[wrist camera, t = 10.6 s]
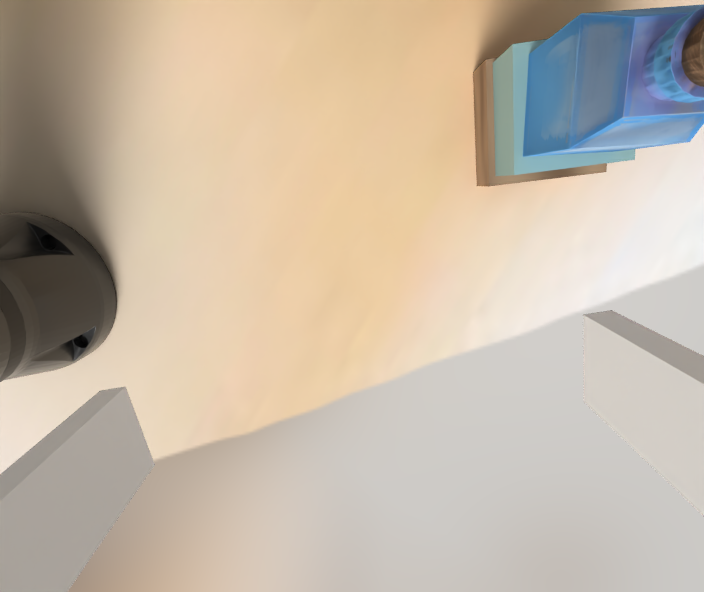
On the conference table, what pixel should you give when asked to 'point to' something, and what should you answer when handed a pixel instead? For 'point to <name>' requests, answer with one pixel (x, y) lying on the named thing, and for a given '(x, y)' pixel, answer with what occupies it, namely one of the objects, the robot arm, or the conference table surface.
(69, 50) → the conference table surface
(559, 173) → the walnut slab
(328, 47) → the conference table surface
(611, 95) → the perfume bottle
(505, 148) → the teal slab
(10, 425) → the conference table surface
